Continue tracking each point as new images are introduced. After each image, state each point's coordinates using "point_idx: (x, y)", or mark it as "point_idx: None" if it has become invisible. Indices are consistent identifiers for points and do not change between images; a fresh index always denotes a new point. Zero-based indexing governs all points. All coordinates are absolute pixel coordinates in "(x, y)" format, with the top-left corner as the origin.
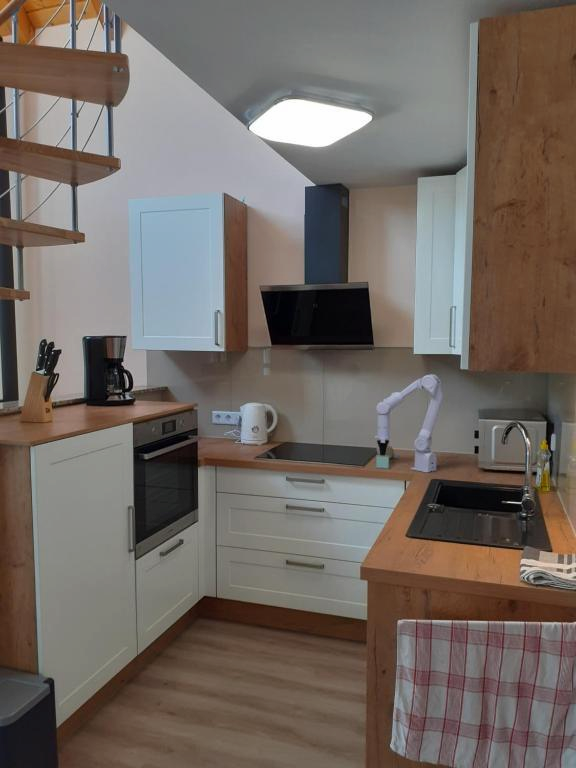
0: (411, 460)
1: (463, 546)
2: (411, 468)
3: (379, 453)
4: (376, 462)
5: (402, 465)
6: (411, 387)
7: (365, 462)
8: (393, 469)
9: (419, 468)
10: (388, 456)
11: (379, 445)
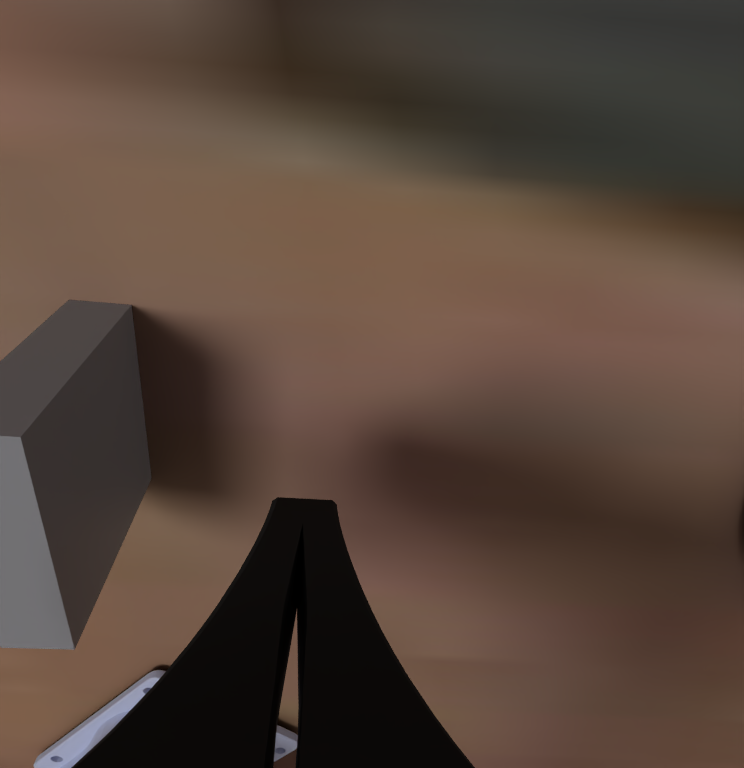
0: (649, 691)
1: None
2: (141, 684)
3: None
4: (20, 358)
5: None
6: None
7: (586, 141)
8: None
9: (89, 747)
10: (3, 634)
11: (134, 723)
